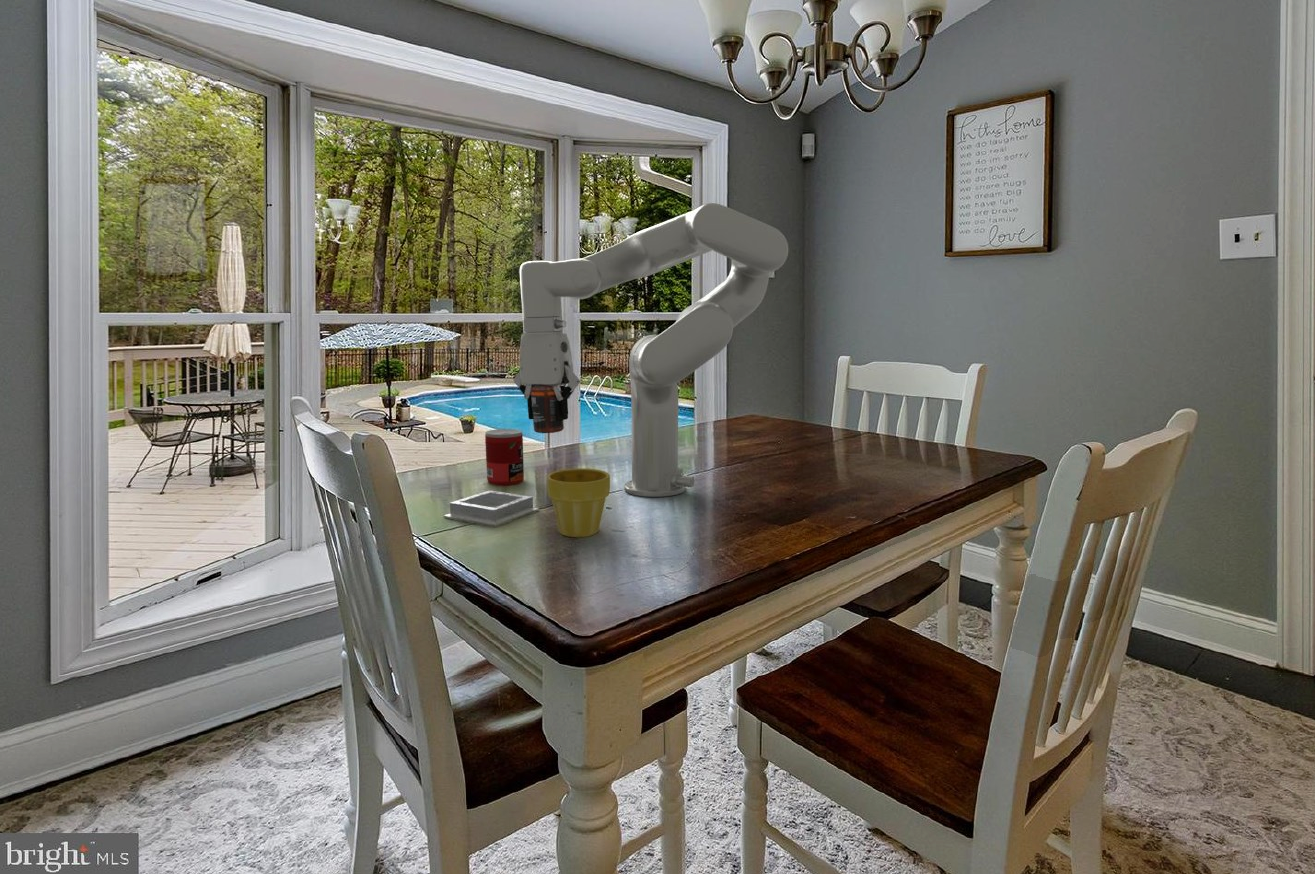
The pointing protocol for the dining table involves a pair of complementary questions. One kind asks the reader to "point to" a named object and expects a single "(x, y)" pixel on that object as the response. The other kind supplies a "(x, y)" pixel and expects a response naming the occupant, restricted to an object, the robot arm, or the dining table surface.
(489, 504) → the holder
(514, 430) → the canned food
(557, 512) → the plant pot
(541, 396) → the supplement bottle
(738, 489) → the dining table surface
